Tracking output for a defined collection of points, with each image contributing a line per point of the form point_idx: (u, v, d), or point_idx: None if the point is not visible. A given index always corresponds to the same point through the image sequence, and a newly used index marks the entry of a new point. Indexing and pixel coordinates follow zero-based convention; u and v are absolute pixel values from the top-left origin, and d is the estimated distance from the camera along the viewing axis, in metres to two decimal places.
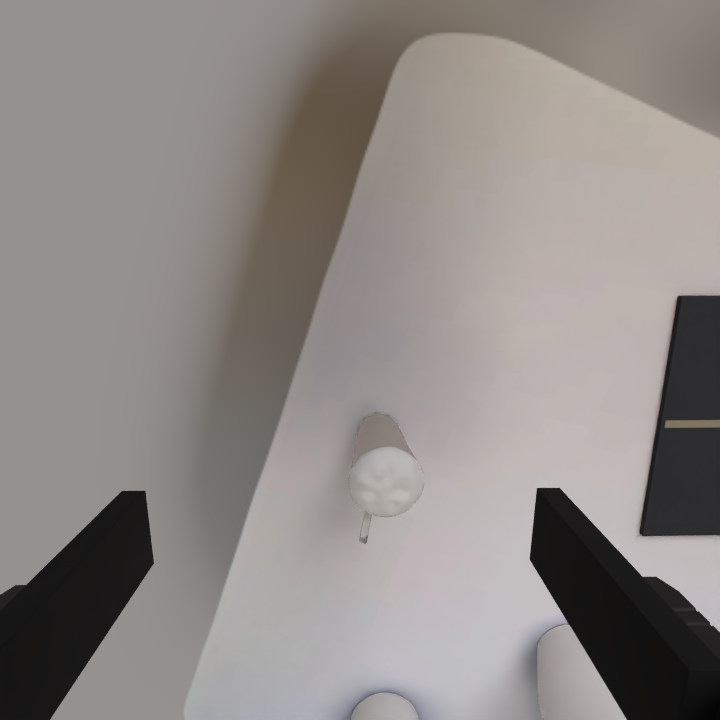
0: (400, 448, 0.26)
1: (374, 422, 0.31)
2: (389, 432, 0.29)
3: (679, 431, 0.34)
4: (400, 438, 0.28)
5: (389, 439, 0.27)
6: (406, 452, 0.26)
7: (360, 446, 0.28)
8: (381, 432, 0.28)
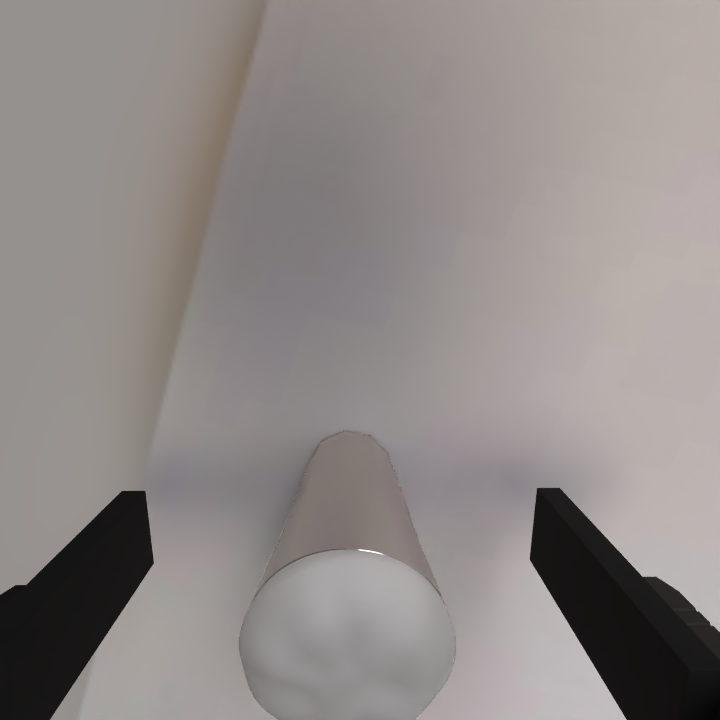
0: (388, 552, 0.09)
1: (336, 455, 0.14)
2: (365, 486, 0.12)
3: None
4: (391, 504, 0.11)
5: (361, 515, 0.10)
6: (405, 566, 0.09)
7: (288, 528, 0.11)
8: (345, 488, 0.12)
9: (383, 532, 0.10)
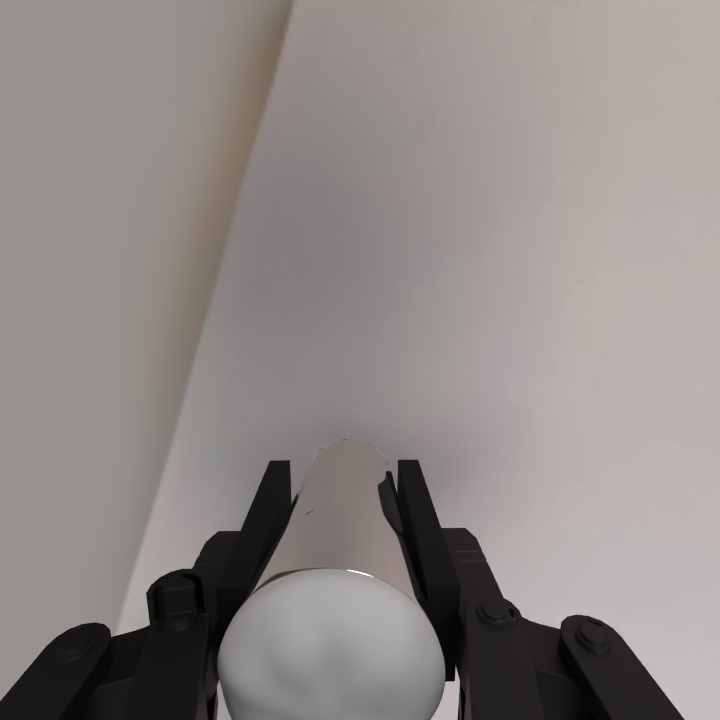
0: (374, 573, 0.08)
1: (332, 465, 0.14)
2: (358, 499, 0.12)
3: None
4: (384, 519, 0.11)
5: (349, 531, 0.10)
6: (392, 588, 0.08)
7: (276, 542, 0.10)
8: (337, 501, 0.11)
9: (371, 550, 0.09)
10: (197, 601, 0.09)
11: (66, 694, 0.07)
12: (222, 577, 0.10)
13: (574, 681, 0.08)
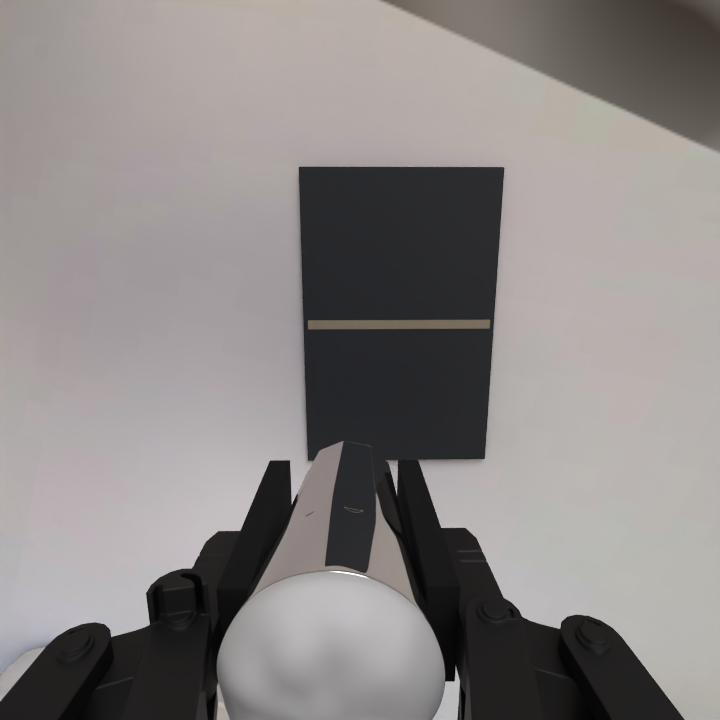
0: (374, 575, 0.08)
1: (332, 467, 0.14)
2: (358, 501, 0.12)
3: (327, 334, 0.29)
4: (384, 521, 0.11)
5: (349, 533, 0.10)
6: (391, 591, 0.08)
7: (276, 544, 0.10)
8: (336, 502, 0.11)
9: (371, 552, 0.09)
10: (197, 601, 0.09)
11: (66, 694, 0.07)
12: (222, 577, 0.10)
13: (574, 681, 0.08)
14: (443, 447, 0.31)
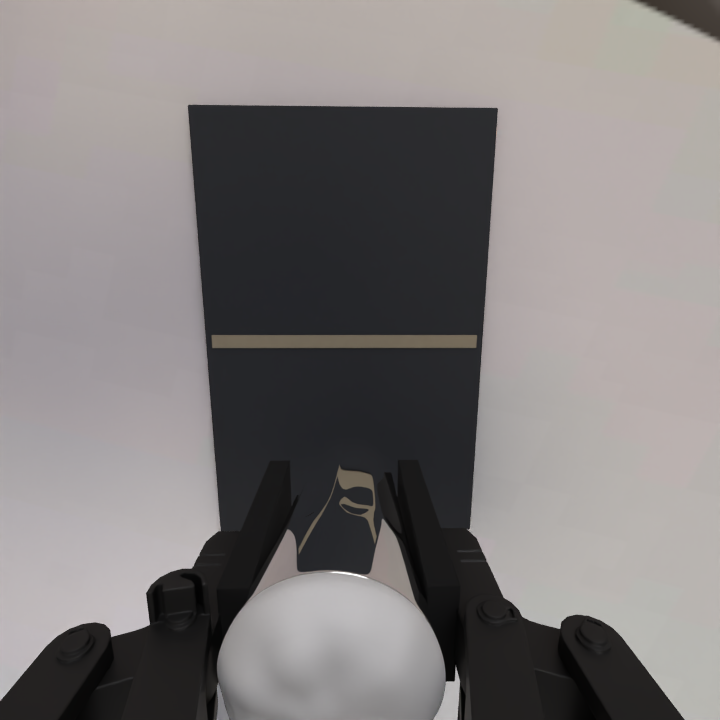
0: (374, 576, 0.08)
1: (332, 467, 0.14)
2: (358, 501, 0.12)
3: (240, 354, 0.20)
4: (384, 521, 0.11)
5: (349, 533, 0.10)
6: (392, 591, 0.08)
7: (276, 544, 0.10)
8: (337, 503, 0.11)
9: (371, 553, 0.09)
10: (197, 601, 0.09)
11: (66, 694, 0.07)
12: (222, 577, 0.10)
13: (573, 681, 0.08)
14: None
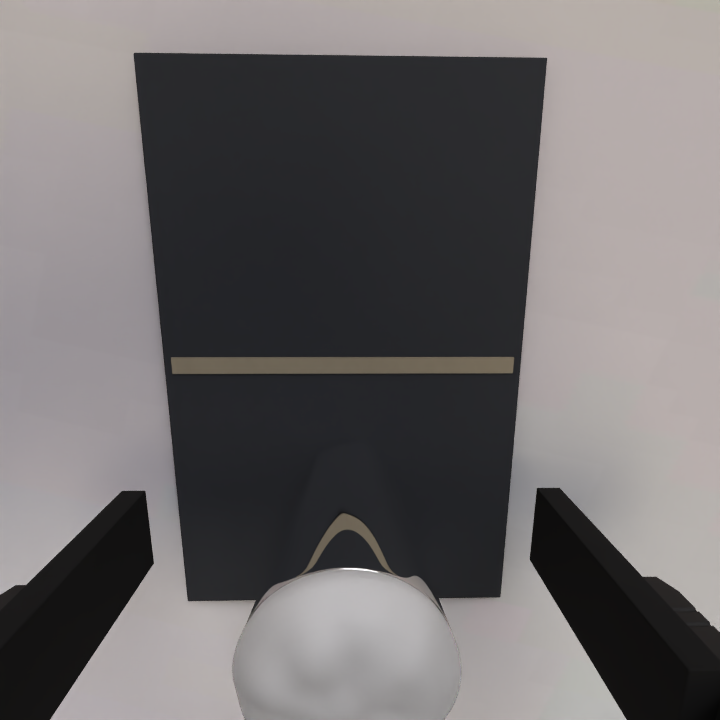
0: (390, 571, 0.09)
1: (335, 466, 0.14)
2: (365, 499, 0.12)
3: (208, 382, 0.16)
4: (392, 518, 0.11)
5: (361, 531, 0.10)
6: (408, 586, 0.08)
7: (285, 544, 0.10)
8: (344, 501, 0.11)
9: (384, 549, 0.09)
10: None
11: None
12: None
13: None
14: None
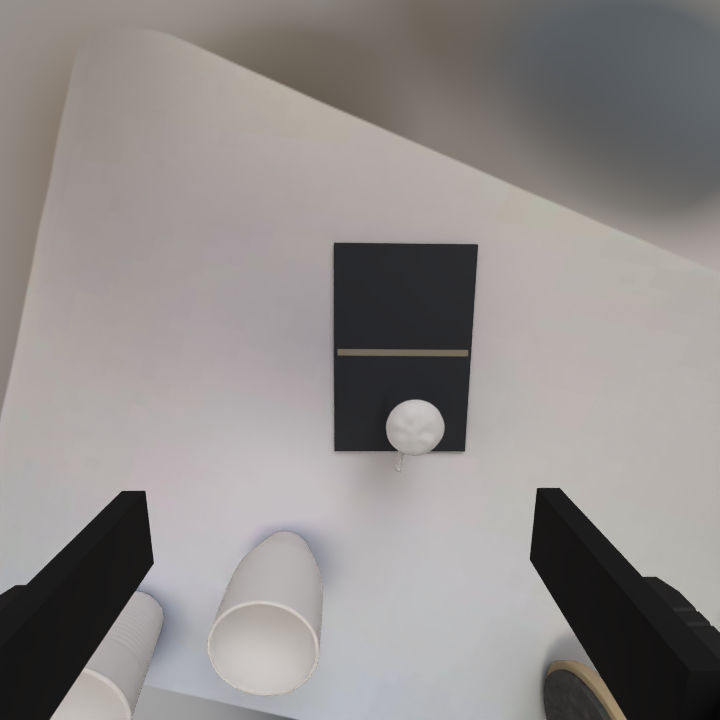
0: (426, 401, 0.33)
1: (402, 387, 0.39)
2: (415, 393, 0.36)
3: (350, 358, 0.40)
4: (424, 397, 0.36)
5: (417, 396, 0.35)
6: (431, 404, 0.33)
7: (393, 402, 0.35)
8: (409, 392, 0.36)
9: (424, 399, 0.34)
10: None
11: None
12: None
13: None
14: None
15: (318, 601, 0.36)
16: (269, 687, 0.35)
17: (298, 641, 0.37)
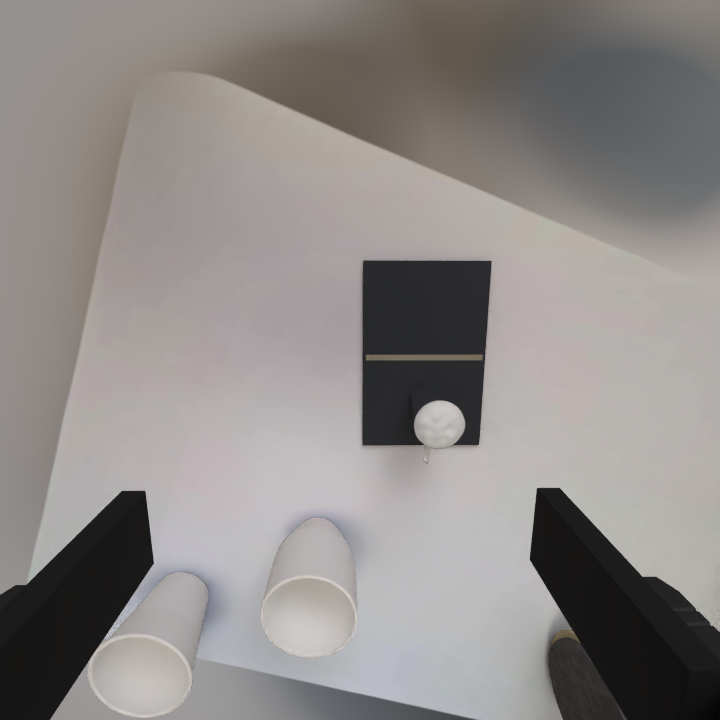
0: (449, 402, 0.38)
1: (424, 389, 0.43)
2: (437, 394, 0.41)
3: (377, 363, 0.45)
4: (446, 398, 0.41)
5: (440, 397, 0.39)
6: (453, 404, 0.38)
7: (419, 402, 0.40)
8: (432, 394, 0.41)
9: (446, 399, 0.39)
10: None
11: None
12: None
13: None
14: None
15: (353, 577, 0.42)
16: (313, 651, 0.40)
17: (335, 612, 0.42)
